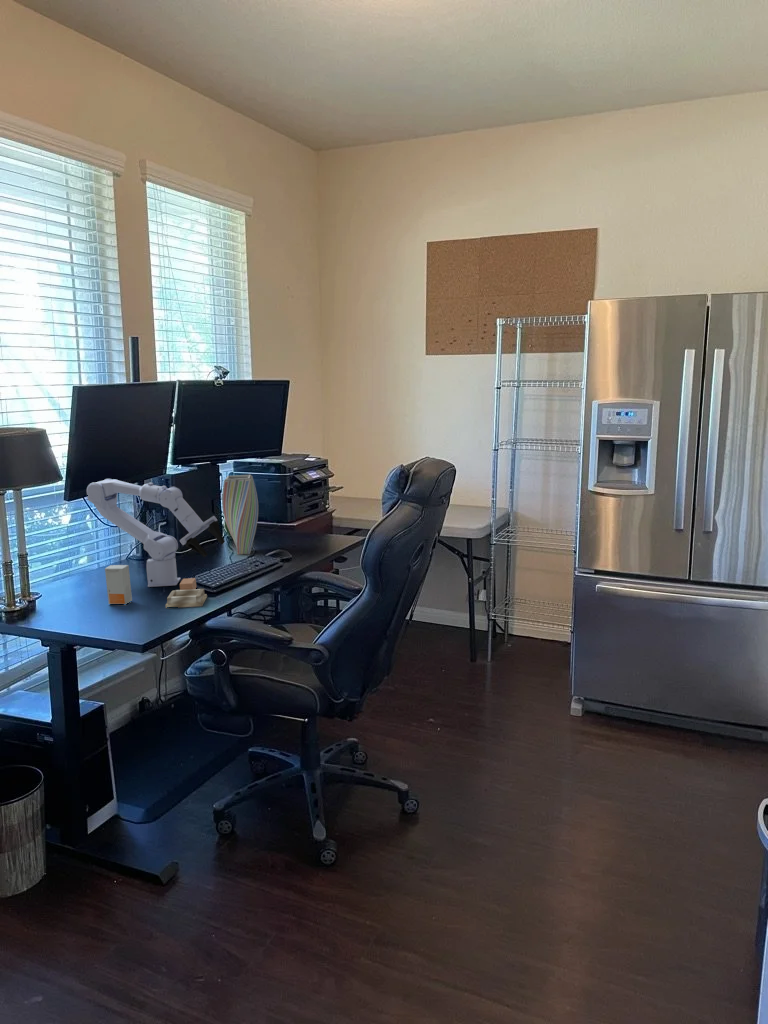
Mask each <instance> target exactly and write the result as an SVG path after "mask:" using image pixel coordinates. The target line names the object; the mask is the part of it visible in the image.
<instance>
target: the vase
mask: <svg viewBox="0 0 768 1024" xmlns="http://www.w3.org/2000/svg"><path fill="white" fill-rule="evenodd" d="M221 494H222V496H221V497H222V498H221V506H222V514H223V517H224V521H225V524H226V526H227V529H228V532H229V533H230V536H231V538H232V540H233V543H234V545H235V547H236V553H237V554H236V555H250V554H251V550H252V547H253V542H254V539H255V535H256V532H257V525H258V520H259V500H258V493H257V488H256V483H255V481H254V477H253V475H252V474H241V475H239V474H238V475H227V476H226V477H225V478H224V480H223V486H222V493H221Z"/></svg>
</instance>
